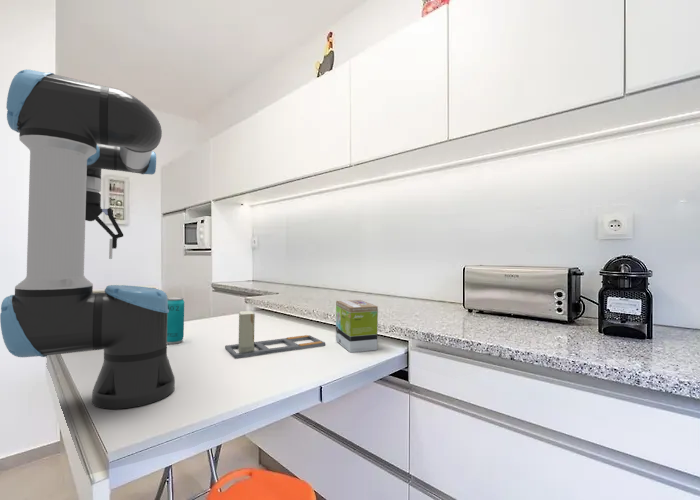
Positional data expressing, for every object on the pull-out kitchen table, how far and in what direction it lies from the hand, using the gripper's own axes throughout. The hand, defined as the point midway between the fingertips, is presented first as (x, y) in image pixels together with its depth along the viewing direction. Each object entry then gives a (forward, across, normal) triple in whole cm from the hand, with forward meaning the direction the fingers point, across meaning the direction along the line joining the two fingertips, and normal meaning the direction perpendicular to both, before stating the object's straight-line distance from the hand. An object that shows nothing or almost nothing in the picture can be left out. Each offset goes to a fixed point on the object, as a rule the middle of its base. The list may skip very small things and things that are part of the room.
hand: (84, 258), depth 110 cm
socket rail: (+28, -53, +28) cm, 66 cm away
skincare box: (+28, -43, +28) cm, 59 cm away
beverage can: (+28, -25, +6) cm, 38 cm away
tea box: (+28, -77, +39) cm, 91 cm away
